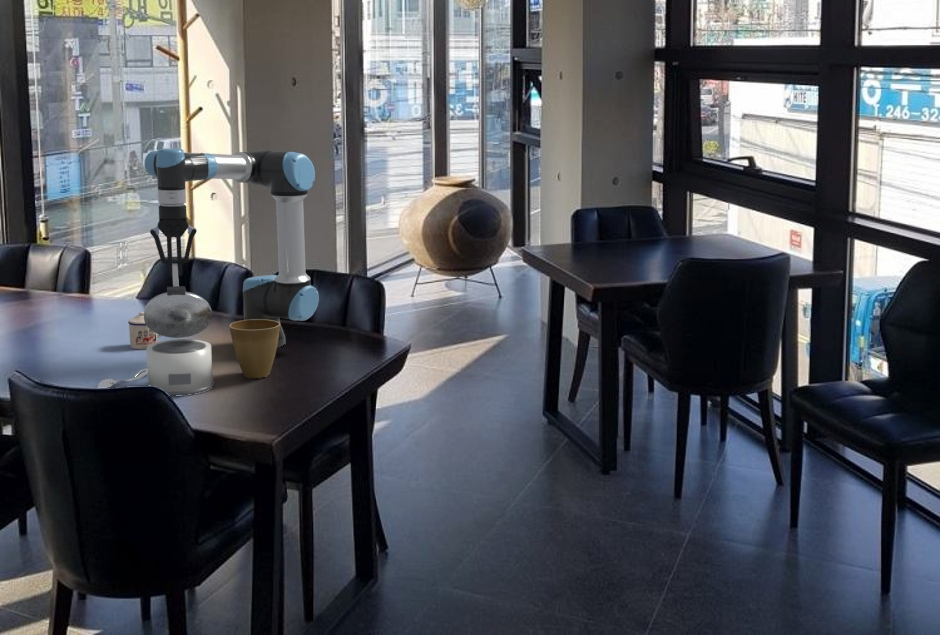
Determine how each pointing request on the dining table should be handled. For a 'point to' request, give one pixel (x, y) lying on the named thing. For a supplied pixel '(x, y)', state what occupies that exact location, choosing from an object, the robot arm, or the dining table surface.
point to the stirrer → (111, 381)
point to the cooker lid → (177, 313)
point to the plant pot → (255, 345)
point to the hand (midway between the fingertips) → (175, 287)
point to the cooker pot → (180, 366)
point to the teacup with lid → (141, 333)
